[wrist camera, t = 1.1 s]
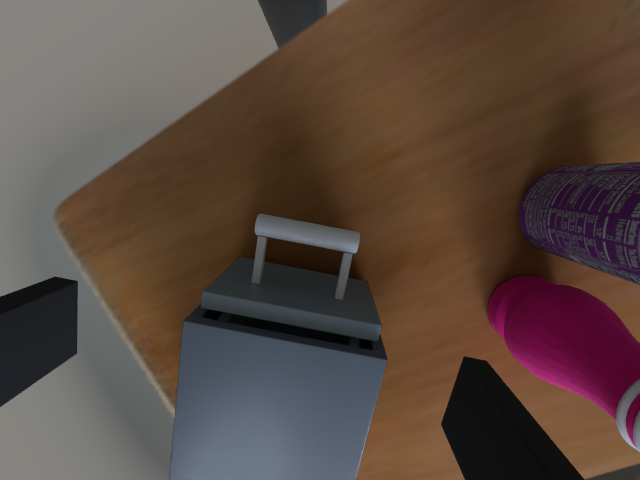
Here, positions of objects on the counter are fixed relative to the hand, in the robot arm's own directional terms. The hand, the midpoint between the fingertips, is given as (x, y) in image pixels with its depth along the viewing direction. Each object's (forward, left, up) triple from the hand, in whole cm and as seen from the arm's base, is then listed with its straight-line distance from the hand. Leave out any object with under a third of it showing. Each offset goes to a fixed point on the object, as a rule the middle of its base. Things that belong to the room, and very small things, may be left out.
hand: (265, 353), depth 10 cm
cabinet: (+11, 0, -17) cm, 20 cm away
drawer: (+6, 0, -16) cm, 17 cm away
